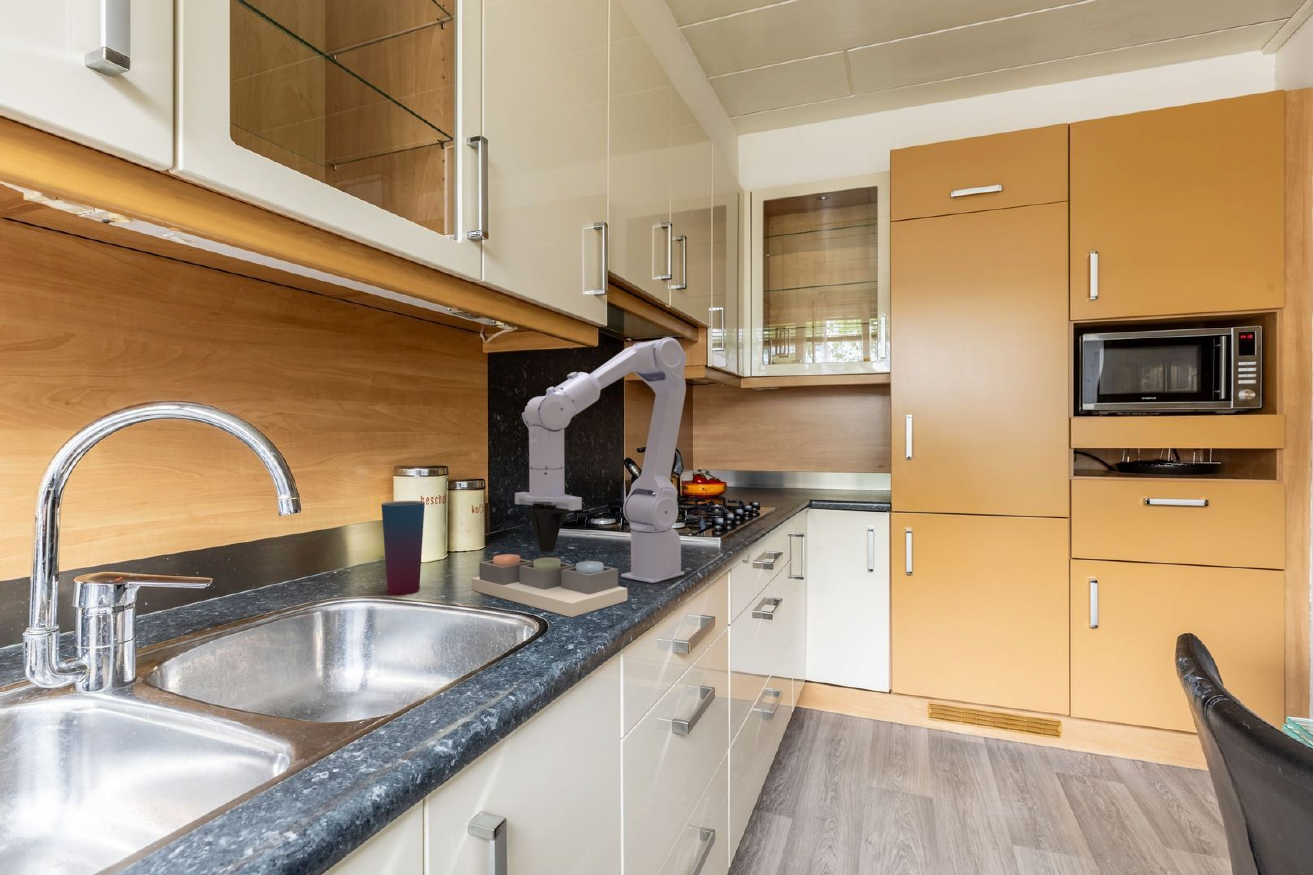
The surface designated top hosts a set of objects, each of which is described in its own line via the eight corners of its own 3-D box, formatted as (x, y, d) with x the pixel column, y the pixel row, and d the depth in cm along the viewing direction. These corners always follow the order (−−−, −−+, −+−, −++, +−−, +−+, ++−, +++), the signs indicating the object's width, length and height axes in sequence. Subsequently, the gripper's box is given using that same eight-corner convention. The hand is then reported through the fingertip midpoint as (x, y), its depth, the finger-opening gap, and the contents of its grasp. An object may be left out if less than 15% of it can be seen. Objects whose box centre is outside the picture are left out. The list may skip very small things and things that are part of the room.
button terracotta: (509, 567, 112) (509, 553, 112) (525, 570, 109) (525, 556, 109) (488, 571, 109) (488, 557, 109) (503, 574, 106) (503, 560, 106)
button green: (548, 570, 109) (548, 556, 109) (566, 574, 106) (566, 559, 106) (527, 575, 106) (527, 560, 106) (545, 579, 103) (545, 564, 103)
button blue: (590, 574, 106) (589, 560, 106) (609, 578, 103) (609, 563, 103) (570, 579, 103) (570, 564, 103) (589, 583, 100) (589, 567, 100)
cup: (415, 596, 105) (415, 505, 105) (374, 596, 105) (374, 505, 105) (431, 586, 112) (430, 500, 112) (392, 586, 112) (392, 500, 112)
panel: (527, 577, 119) (527, 551, 119) (627, 600, 103) (627, 570, 103) (471, 589, 110) (471, 561, 110) (571, 617, 93) (571, 583, 93)
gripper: (500, 467, 108) (500, 548, 108) (557, 471, 98) (558, 559, 98) (533, 466, 113) (533, 543, 113) (591, 469, 104) (591, 553, 104)
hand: (547, 550), depth 106 cm, fingers closed
